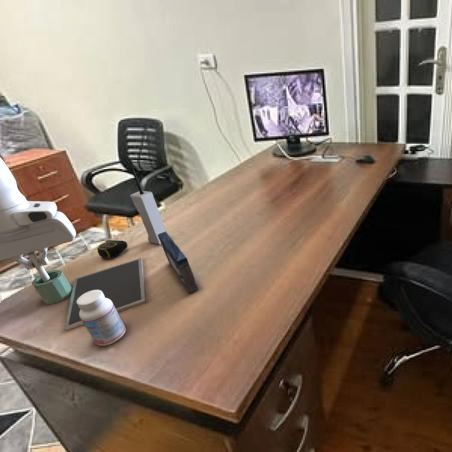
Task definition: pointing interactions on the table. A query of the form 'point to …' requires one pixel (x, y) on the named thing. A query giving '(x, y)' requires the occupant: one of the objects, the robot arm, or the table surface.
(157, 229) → the vintage mobile phone
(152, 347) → the table surface
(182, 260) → the vhs cassette tape
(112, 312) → the pill bottle
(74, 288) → the tablet
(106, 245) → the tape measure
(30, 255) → the stylus
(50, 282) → the pen cup
